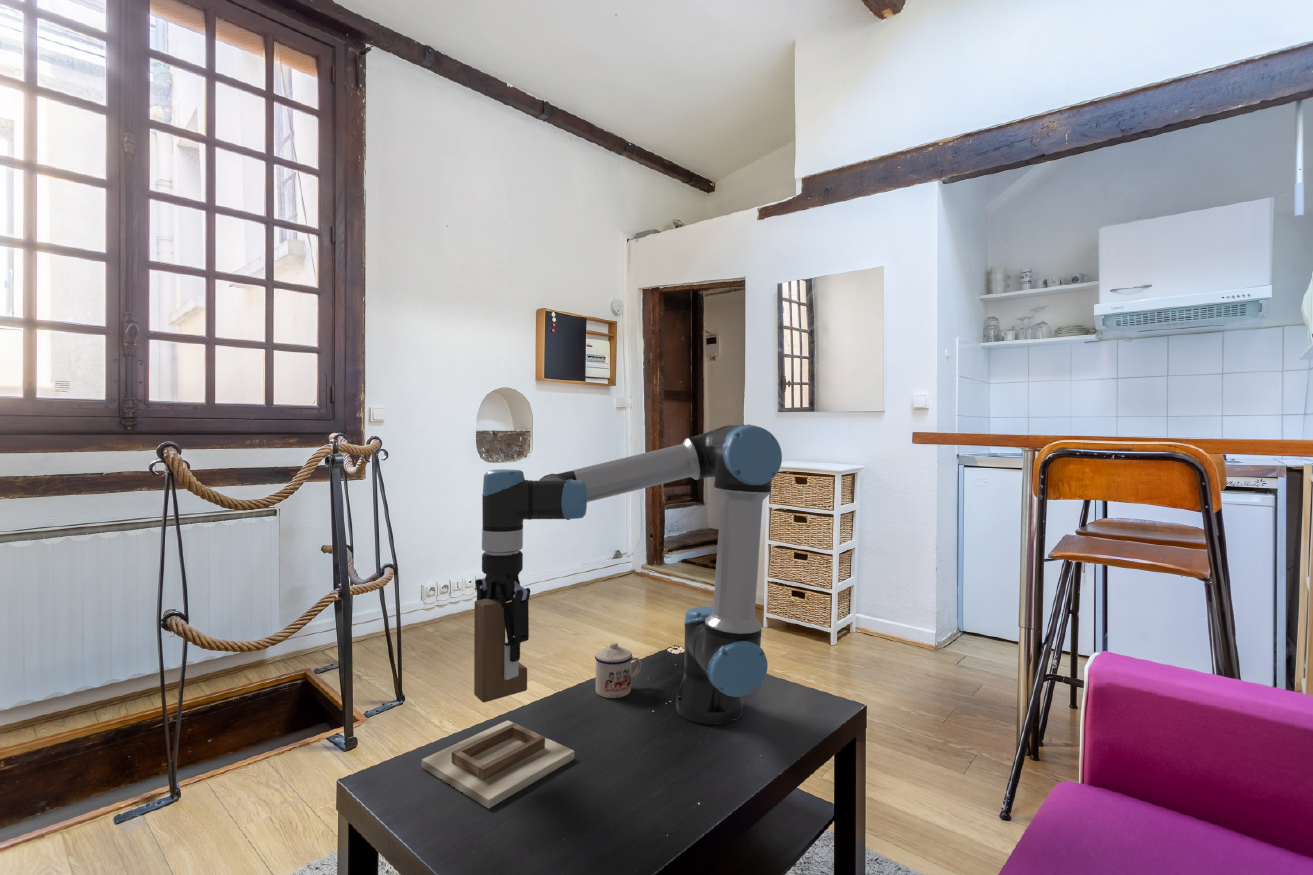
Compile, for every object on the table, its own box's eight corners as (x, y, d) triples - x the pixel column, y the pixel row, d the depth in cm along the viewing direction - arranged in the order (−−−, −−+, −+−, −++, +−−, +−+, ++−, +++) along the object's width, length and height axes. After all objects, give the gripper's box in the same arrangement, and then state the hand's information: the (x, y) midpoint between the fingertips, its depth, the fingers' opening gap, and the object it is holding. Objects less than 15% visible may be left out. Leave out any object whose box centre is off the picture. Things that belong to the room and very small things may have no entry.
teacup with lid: (604, 702, 143) (604, 652, 143) (588, 687, 151) (589, 640, 151) (649, 692, 149) (649, 644, 149) (632, 678, 157) (632, 633, 157)
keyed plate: (574, 758, 118) (574, 740, 118) (488, 808, 102) (488, 787, 102) (507, 727, 130) (507, 710, 130) (421, 767, 115) (421, 748, 115)
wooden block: (517, 683, 121) (518, 592, 121) (527, 691, 118) (528, 597, 117) (473, 695, 116) (473, 600, 115) (482, 703, 112) (483, 605, 112)
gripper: (550, 554, 114) (548, 679, 114) (488, 542, 125) (487, 656, 125) (518, 561, 108) (516, 693, 108) (456, 547, 119) (455, 667, 119)
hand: (501, 673), depth 117 cm, fingers closed on wooden block, 5 cm apart
